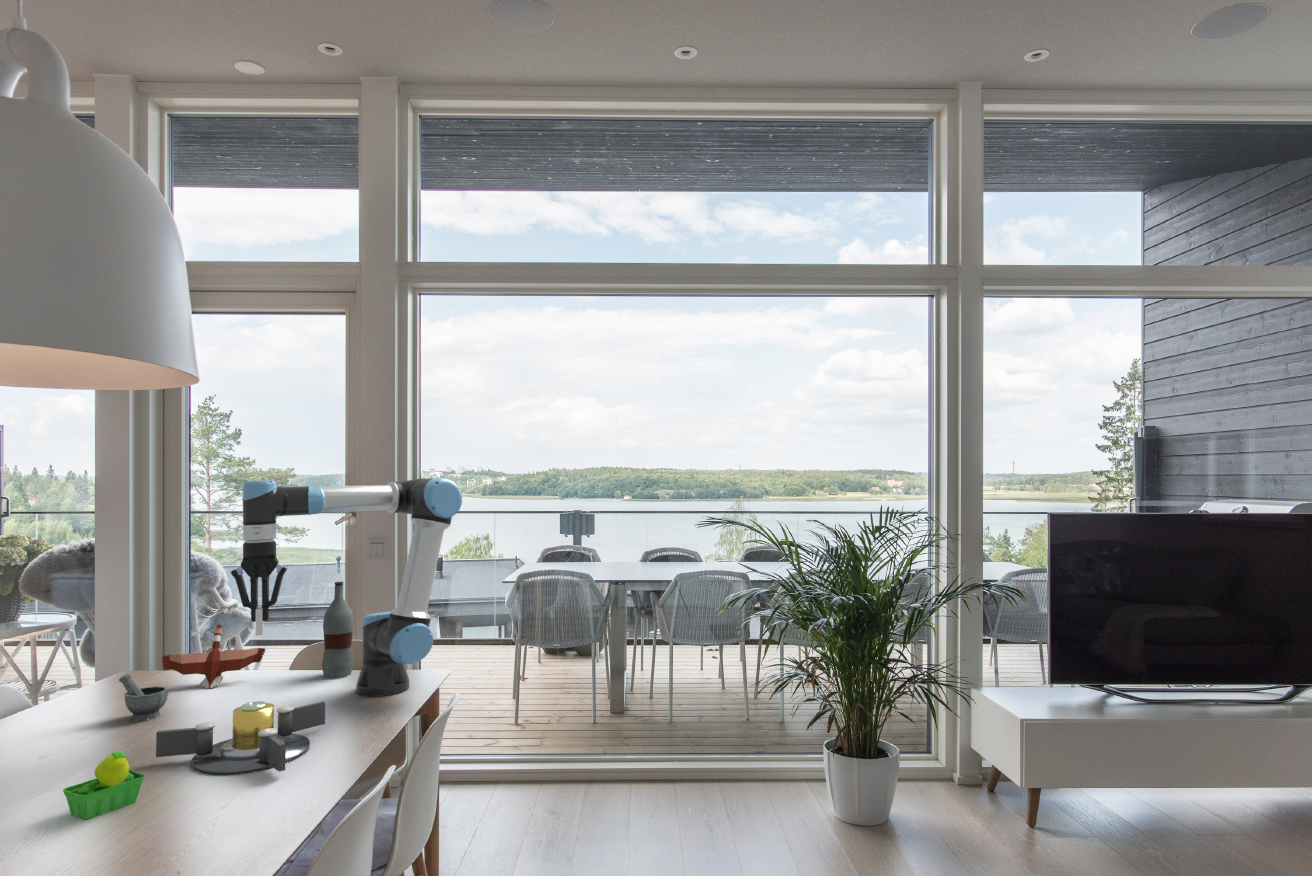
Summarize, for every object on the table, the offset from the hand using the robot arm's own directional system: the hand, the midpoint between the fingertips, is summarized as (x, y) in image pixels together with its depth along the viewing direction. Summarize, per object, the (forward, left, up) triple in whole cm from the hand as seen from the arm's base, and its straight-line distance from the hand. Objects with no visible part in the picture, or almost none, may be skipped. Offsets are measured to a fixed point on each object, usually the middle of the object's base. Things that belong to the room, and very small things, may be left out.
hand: (260, 633), depth 190 cm
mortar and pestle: (+33, -21, -25) cm, 46 cm away
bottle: (-11, -53, -25) cm, 60 cm away
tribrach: (-3, +17, -24) cm, 30 cm away
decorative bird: (+25, -53, -25) cm, 64 cm away
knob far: (+11, +17, -23) cm, 31 cm away
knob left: (-10, +29, -23) cm, 38 cm away
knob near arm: (-11, +6, -23) cm, 26 cm away
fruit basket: (+17, +41, -25) cm, 51 cm away
